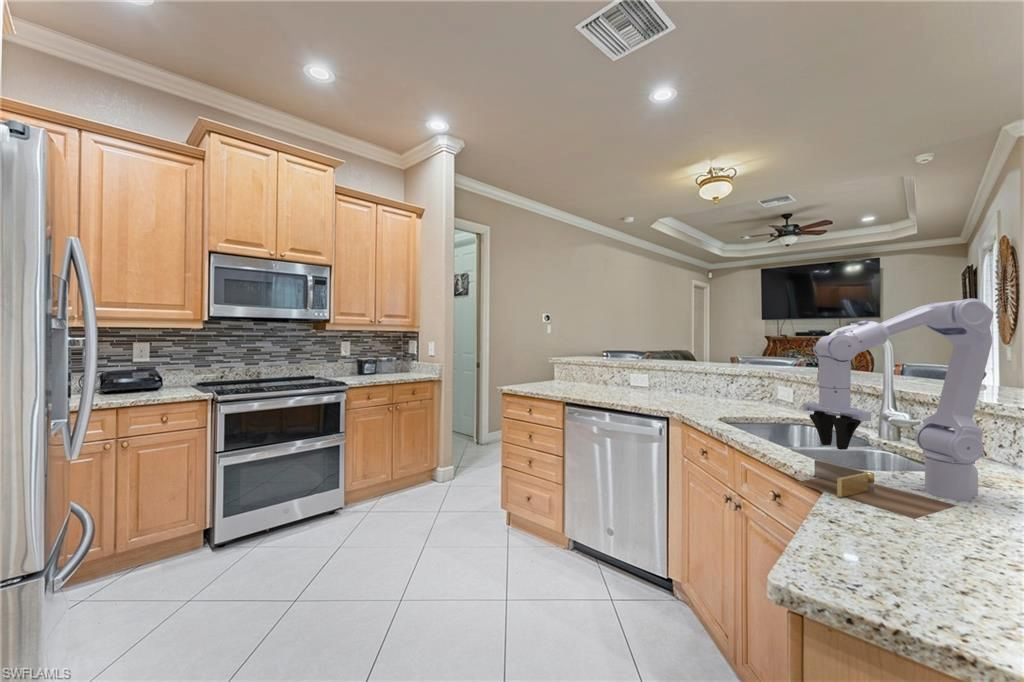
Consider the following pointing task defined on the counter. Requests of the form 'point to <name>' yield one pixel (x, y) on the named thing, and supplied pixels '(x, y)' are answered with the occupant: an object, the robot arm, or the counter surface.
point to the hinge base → (874, 492)
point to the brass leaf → (854, 484)
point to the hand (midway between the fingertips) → (834, 447)
